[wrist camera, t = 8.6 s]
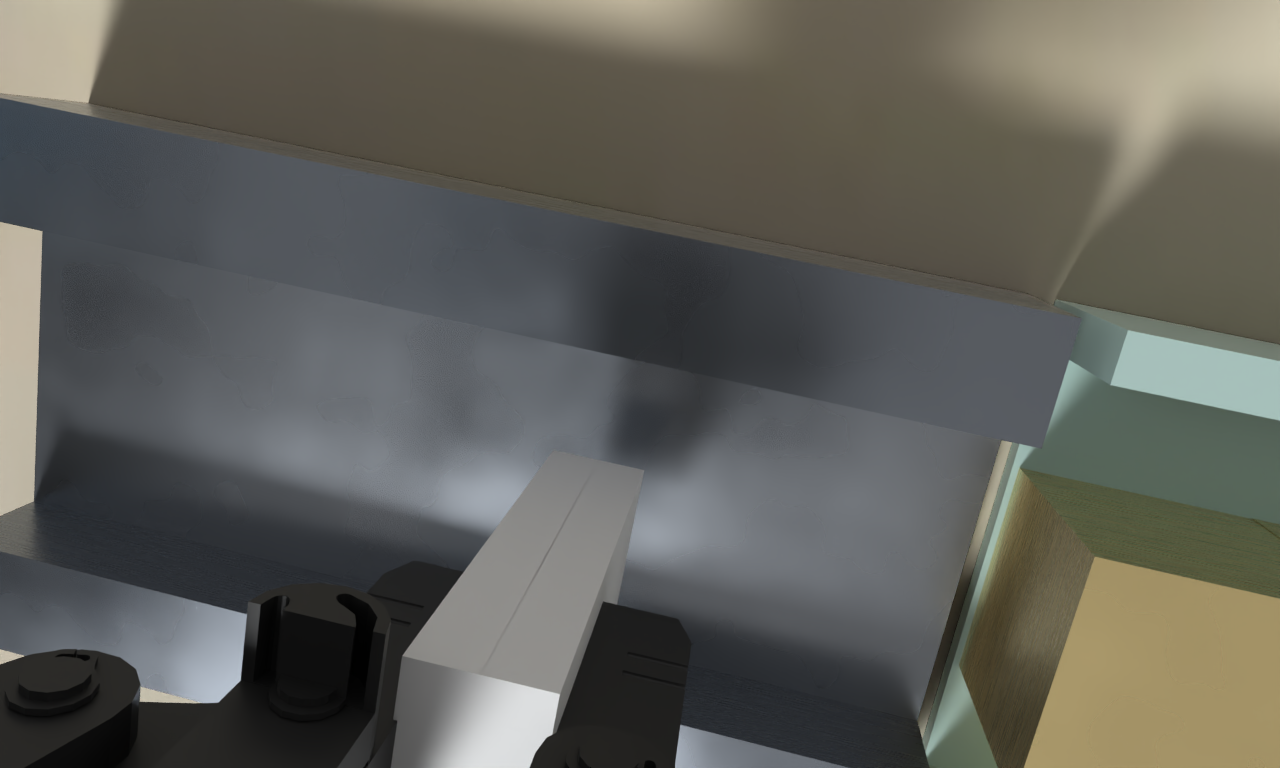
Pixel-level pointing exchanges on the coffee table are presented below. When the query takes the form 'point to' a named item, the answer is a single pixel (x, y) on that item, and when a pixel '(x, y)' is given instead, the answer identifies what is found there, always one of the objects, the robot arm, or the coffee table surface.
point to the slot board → (494, 417)
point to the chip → (1126, 633)
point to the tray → (1134, 455)
